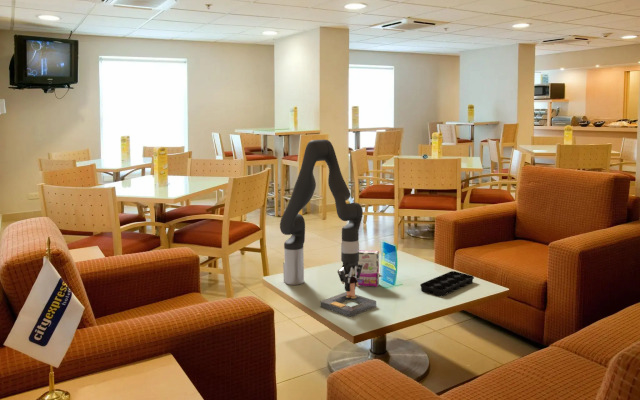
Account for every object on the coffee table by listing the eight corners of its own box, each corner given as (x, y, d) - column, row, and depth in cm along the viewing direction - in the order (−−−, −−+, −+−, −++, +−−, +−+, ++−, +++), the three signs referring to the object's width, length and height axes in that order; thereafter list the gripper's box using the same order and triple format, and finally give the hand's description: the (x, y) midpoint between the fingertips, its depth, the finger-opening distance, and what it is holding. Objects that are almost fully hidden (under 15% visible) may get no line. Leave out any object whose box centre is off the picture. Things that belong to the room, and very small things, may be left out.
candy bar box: (379, 284, 260) (379, 250, 258) (377, 287, 256) (378, 253, 253) (356, 282, 263) (356, 249, 260) (354, 285, 258) (354, 252, 256)
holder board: (320, 306, 232) (320, 300, 231) (346, 297, 243) (346, 291, 243) (350, 317, 220) (350, 310, 219) (376, 306, 231) (376, 300, 231)
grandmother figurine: (359, 296, 232) (361, 267, 231) (357, 299, 228) (359, 269, 227) (342, 294, 234) (343, 265, 233) (340, 297, 231) (341, 268, 229)
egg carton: (475, 281, 263) (476, 274, 263) (454, 300, 239) (455, 292, 238) (441, 276, 273) (441, 268, 272) (417, 293, 248) (417, 285, 247)
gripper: (354, 245, 236) (354, 284, 239) (332, 252, 226) (332, 292, 229) (367, 248, 230) (367, 288, 233) (345, 255, 221) (345, 296, 224)
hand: (350, 289), depth 231 cm, fingers closed on grandmother figurine, 3 cm apart
